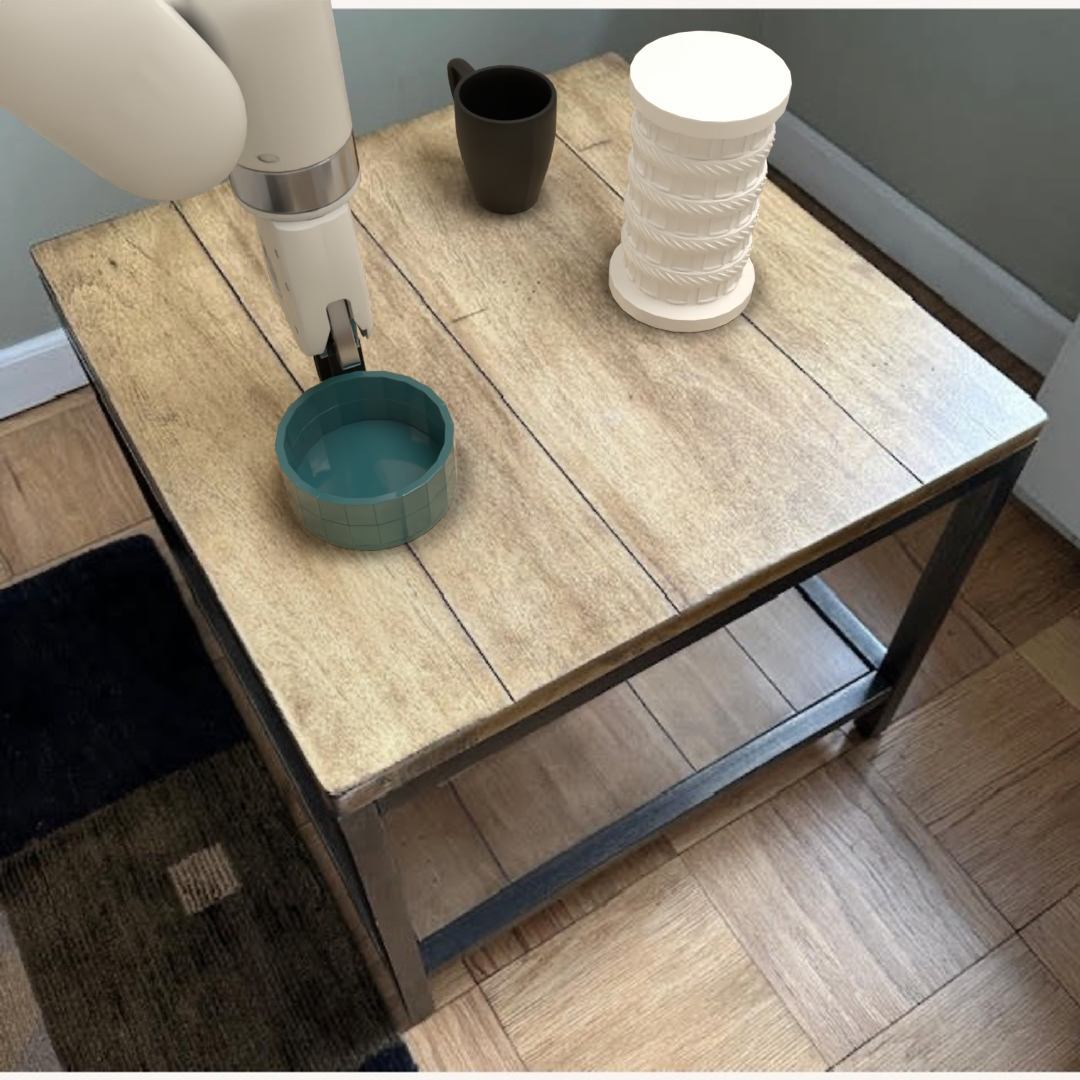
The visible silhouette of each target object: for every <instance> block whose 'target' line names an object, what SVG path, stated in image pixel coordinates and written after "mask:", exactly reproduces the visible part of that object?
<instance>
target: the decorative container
mask: <svg viewBox="0 0 1080 1080" xmlns="http://www.w3.org/2000/svg"><path fill="white" fill-rule="evenodd" d="M792 85H793V81H792V74H791V70H790V69H789V67H788V66H787V64H786V63H785V60H783V59H782V58H781V57H780V55H778V54H777V53H775V51H774V50H772V49H771V48H770V47H767V46H765V45H764V44H762V43H760V42H758V41H756V40H753V39H751V38H747V37H745V36H741V35H739V34H734V33H728V32H723V31H713V30H712V31H711V30H692V31H691V30H690V31H683V32H675V33H673V34H672V33H671V34H669V35H667V36H662V37H660V38H657V39H655V40H653V41H651V42H649V43H647V44H645V46H643V47H642V48H641V49H640V50H639V51H638V52H637V53H636V54H635V56H634V57H633V59H632V61H631V63H630V66H629V76H628V96H629V98H630V100H631V103H632V105H633V107H634V109H633V111H632V114H631V117H630V120H629V123H630V124H629V125H630V127H629V129H630V130H629V131H630V135H631V142H632V143H633V144H632V146H631V147H630V150H629V153H628V156H627V161H626V171H627V177H628V181H629V183H628V185H627V187H626V189H625V192H624V194H623V195H624V196H623V209H624V212H625V213H624V215H625V219H624V222H623V224H622V227H621V231H620V243H619V244H617V246H616V247H615V248H614V250H613V253H612V255H611V258H610V259H609V266H608V267H609V269H608V287H609V290H610V292H611V295H612V298H613V299H614V301H615V302H616V303H617V304H618V305H619V307H620V308H621V309H622V310H623V311H624V312H625V313H626V314H628V315H629V316H631V318H633V319H635V320H636V321H639V322H641V323H643V324H645V325H648V326H650V327H651V328H656V329H660V330H664V331H668V332H674V333H675V332H676V333H677V332H678V333H695V332H704V331H710V330H713V329H716V328H719V327H721V326H724V325H726V324H728V323H730V322H732V321H733V320H734V319H736V318H738V317H739V316H740V315H741V314H742V313H743V312H744V310H745V309H746V308H747V306H748V305H749V304H750V300H751V297H752V294H753V292H754V286H755V282H756V274H755V266H754V264H753V262H752V260H751V258H750V257H751V252H752V251H753V248H752V246H753V244H754V241H753V239H754V237H753V231H754V229H755V227H756V224H757V223H758V218H759V217H760V213H759V212H760V211H761V207H760V206H761V203H760V196H761V194H762V191H763V188H764V187H765V186H766V183H765V181H767V180H768V177H767V175H768V173H769V171H768V163H767V162H768V160H767V158H768V157H769V156H770V153H771V150H772V148H773V146H774V144H773V142H775V141H776V138H775V135H776V134H777V132H776V129H777V128H776V122H777V121H779V119H780V118H781V117H782V116H783V115H784V113H785V112H786V108H787V106H788V103H789V100H790V95H791V90H792Z"/></svg>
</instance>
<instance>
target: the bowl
mask: <svg viewBox="0 0 1080 1080" xmlns="http://www.w3.org/2000/svg"><path fill="white" fill-rule="evenodd" d="M276 427H277V428H276V433H275V441H274V451H275V454H276V458H277V461H278V465H279V468H280V472H281V476H282V479H283V483H284V487H285V490H286V493H287V497H288V500H289V503H290V507H291V509H292V511H293V513H294V514H295V517H296V518H297V520H298V521H299V522H300V524H301V525H302V526H303V527H304V528H305V529H306V530H307V531H308V532H309V533H311V534H312V535H313V536H315V537H316V538H318V539H320V540H322V541H323V542H326V543H328V544H330V545H333V546H335V547H340V548H342V549H343V548H344V549H347V550H353V551H378V550H379V551H380V550H384V549H390V548H394V547H398V546H402V545H405V544H407V543H409V542H412V541H414V540H416V539H418V538H419V537H421V536H423V535H425V534H426V533H427V532H429V531H430V530H432V529H433V528H434V527H435V526H436V525H437V524H438V523H439V522H440V521H441V520H442V519H443V517H444V516H446V514H447V512H448V511H449V509H450V507H451V506H452V503H453V501H454V500H455V496H456V492H457V489H458V457H457V456H458V455H457V444H456V432H455V431H456V430H455V422H454V420H453V418H452V415H451V413H450V410H449V407H448V405H447V404H446V402H445V401H444V400H443V399H442V398H441V397H440V396H439V395H438V394H437V393H436V392H435V391H434V390H433V389H432V387H430V386H428V385H426V384H424V383H422V382H420V381H418V380H417V379H415V378H413V377H411V376H409V375H405V374H401V373H396V372H391V371H387V370H366V371H355V372H351V373H347V374H343V375H338V376H334V377H331V378H329V379H327V380H325V381H323V382H321V381H320V382H319V383H317V384H315V385H313V386H311V387H309V388H307V389H306V390H305V391H304V392H303V393H302V394H300V395H299V396H298V397H297V398H296V399H295V400H293V402H291V403H290V404H289V405H288V407H287V409H286V410H285V412H284V414H283V416H282V417H281V419H280V421H279V422H278V424H277V426H276Z"/></svg>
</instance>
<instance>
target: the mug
mask: <svg viewBox="0 0 1080 1080" xmlns="http://www.w3.org/2000/svg"><path fill="white" fill-rule="evenodd" d="M446 65H447V66H446V71H447V79H448V85H449V88H450V93H451V96H452V101H453V108H454V109H453V110H454V125H455V134H456V135H455V136H456V140H457V146H458V149H459V153H460V157H461V161H462V165H463V166H464V169H465V173H466V175H467V178H468V180H469V181H468V182H469V183H470V186H471V188H472V191H473V194H474V197H475V200H476V201H477V203H478V204H479V205H480V206H481V207H483V208H484V209H485V210H487V211H490V212H493V213H496V214H507V215H508V214H517V213H521V212H524V211H527V210H528V209H530V208H532V207H533V206H534V205H535V204H536V203H537V201H538V199H539V197H540V193H541V190H542V187H543V184H544V182H545V178H546V175H547V173H548V170H549V166H550V164H551V163H550V162H551V159H552V155H553V152H554V147H555V140H556V135H557V111H558V92H557V89H556V87H555V84H554V83H553V82H552V81H551V79H550V78H549V77H548V76H546V75H545V74H543V73H542V72H539V71H538V70H535V69H532V68H530V67H526V66H521V65H513V64H498V65H496V64H495V65H490V66H486V67H481V68H478V69H475V68H474V67H473V66H472V64H470V63H469V62H468V61H467V60H465V59H464V58H461V57H454V58H452V59H450V60H449V61H448V62H447V64H446Z"/></svg>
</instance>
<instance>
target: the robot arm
mask: <svg viewBox="0 0 1080 1080" xmlns="http://www.w3.org/2000/svg"><path fill="white" fill-rule="evenodd" d="M340 51H341V50H340V46H339V40H338V33H337V28H336V23H335V16H334V10H333V4H332V0H0V107H1V108H3V109H4V110H5V111H7V112H8V113H9V114H11V116H13V117H15V118H16V119H18V121H20V122H21V123H23V124H24V125H25V126H27V127H28V128H30V129H31V130H33V131H34V132H36V133H37V134H38V135H39V136H40V137H43V138H44V139H45V140H47V141H48V142H50V143H51V144H52V145H54V146H55V147H57V148H58V149H60V150H62V151H63V152H64V153H66V154H67V155H69V156H70V157H71V158H73V159H74V160H75V161H77V162H79V163H80V164H81V165H83V166H85V167H86V168H87V169H89V170H90V171H91V172H93V173H94V174H96V175H98V176H99V177H101V178H102V179H103V180H105V181H107V182H108V183H110V184H111V185H113V186H115V187H116V188H118V189H121V190H122V191H125V192H126V193H129V194H132V195H135V196H138V197H141V198H142V199H143V198H144V199H148V200H153V201H154V200H155V201H159V202H164V201H165V202H178V201H183V200H184V201H185V200H188V199H189V200H190V199H193V198H196V197H199V196H201V195H205V194H206V193H208V192H209V191H211V190H213V189H214V188H217V187H218V186H219V185H220V184H221V183H222V182H223V181H224V180H226V178H228V180H229V183H230V186H231V187H230V188H231V191H232V195H233V197H234V199H235V201H236V202H237V203H238V205H239V206H240V207H241V208H242V209H244V211H246V212H248V213H249V214H251V215H253V218H254V222H255V225H256V230H257V233H258V236H259V242H260V247H261V251H262V254H263V259H264V263H265V264H264V265H265V267H266V270H267V274H268V277H269V280H270V284H271V285H272V288H273V291H274V294H275V296H276V298H277V300H278V303H279V305H280V307H281V310H282V313H283V315H284V317H285V319H286V322H287V324H288V327H289V329H290V331H291V333H292V336H293V338H294V341H295V343H296V345H297V347H298V349H299V350H300V352H301V353H302V354H304V355H306V356H308V357H310V358H311V357H312V358H313V362H314V367H315V370H316V375H317V377H318V379H319V382H320V383H321V382H323V381H325V380H327V379H329V378H331V377H334V376H338V375H343V374H347V373H351V372H355V371H367V368H366V364H365V358H364V354H363V353H364V352H363V349H362V343H361V340H360V337H359V333H358V330H359V332H360V335H361V336H362V338H366V340H369V339H370V338H371V337H372V335H373V333H374V328H375V327H374V326H375V325H374V319H373V318H374V317H373V310H372V304H371V299H370V294H369V289H368V288H369V287H368V282H367V278H366V274H365V268H364V264H363V263H364V262H363V259H362V255H361V249H360V245H359V241H358V236H357V235H358V231H357V229H356V227H355V222H354V217H353V212H352V209H351V205H350V200H351V199H352V198H353V197H354V195H355V194H356V192H357V191H358V189H359V187H360V184H361V180H362V171H361V165H360V161H359V155H358V148H357V143H356V138H355V132H354V131H355V130H354V126H353V120H352V115H351V110H350V104H349V98H348V92H347V86H346V81H345V74H344V69H343V63H342V62H343V61H342V58H341V57H342V56H341V52H340Z"/></svg>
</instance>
